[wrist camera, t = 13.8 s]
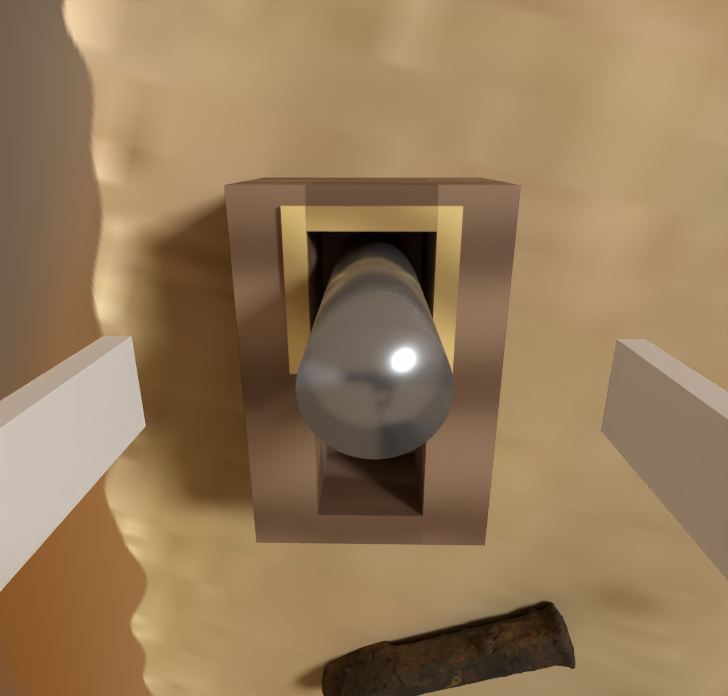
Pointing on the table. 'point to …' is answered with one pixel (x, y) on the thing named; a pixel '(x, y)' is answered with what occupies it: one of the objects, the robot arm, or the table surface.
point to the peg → (374, 355)
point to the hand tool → (453, 658)
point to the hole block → (294, 325)
